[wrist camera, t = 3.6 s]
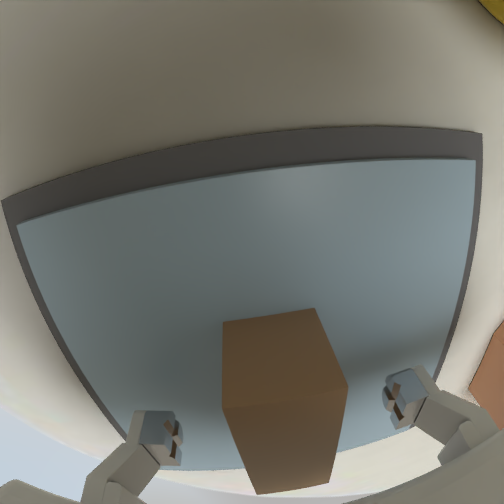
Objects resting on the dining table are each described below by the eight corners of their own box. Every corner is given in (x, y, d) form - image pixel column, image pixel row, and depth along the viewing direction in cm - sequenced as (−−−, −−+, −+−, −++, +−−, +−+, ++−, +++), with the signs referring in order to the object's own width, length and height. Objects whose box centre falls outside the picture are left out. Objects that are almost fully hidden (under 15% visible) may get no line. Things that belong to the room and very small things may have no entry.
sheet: (24, 220, 8) (-51, 270, 4) (466, 158, 8) (549, 183, 4) (158, 463, 14) (152, 515, 11) (405, 424, 14) (427, 470, 11)
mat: (7, 198, 8) (0, 200, 7) (475, 132, 8) (482, 133, 8) (151, 463, 15) (150, 468, 15) (412, 422, 15) (414, 426, 15)
